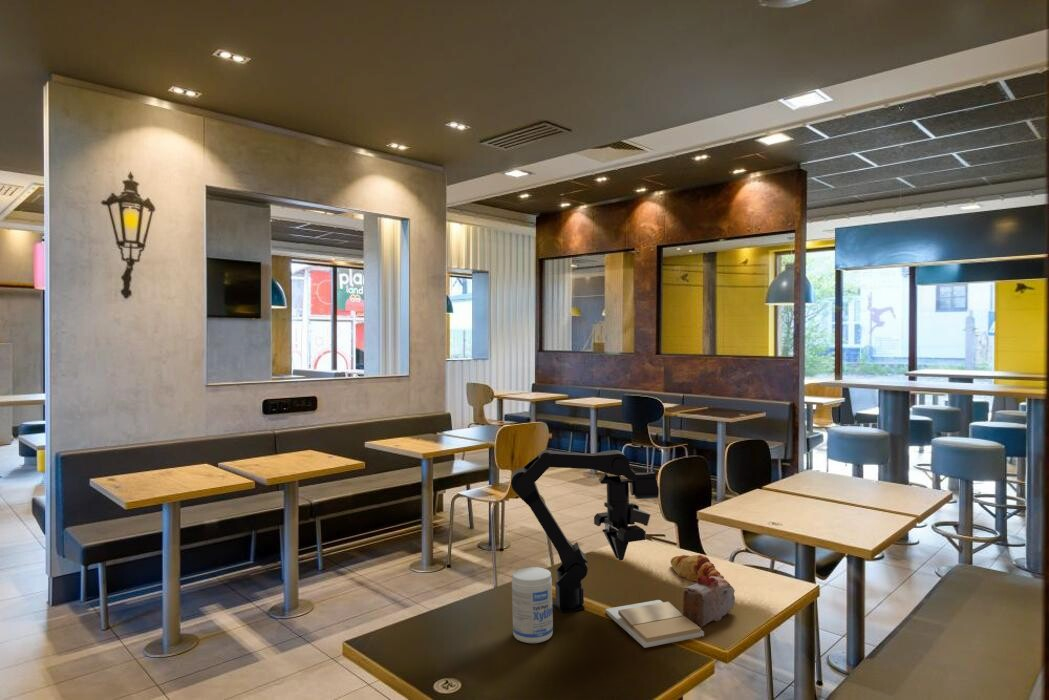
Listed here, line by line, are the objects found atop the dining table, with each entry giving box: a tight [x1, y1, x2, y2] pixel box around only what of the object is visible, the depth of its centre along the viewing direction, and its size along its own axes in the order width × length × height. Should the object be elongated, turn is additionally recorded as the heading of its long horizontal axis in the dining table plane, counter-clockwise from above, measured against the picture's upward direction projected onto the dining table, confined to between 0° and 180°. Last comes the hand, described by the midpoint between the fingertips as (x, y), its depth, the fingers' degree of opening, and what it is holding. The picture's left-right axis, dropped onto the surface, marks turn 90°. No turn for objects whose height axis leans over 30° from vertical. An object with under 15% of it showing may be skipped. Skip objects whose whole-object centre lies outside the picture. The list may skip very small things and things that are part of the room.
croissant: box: [670, 554, 725, 583], centre depth 183 cm, size 21×10×8 cm, turn 29°
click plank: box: [618, 601, 684, 629], centre depth 154 cm, size 14×7×1 cm, turn 108°
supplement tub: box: [511, 566, 554, 644], centre depth 149 cm, size 10×10×15 cm
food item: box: [682, 576, 736, 628], centre depth 156 cm, size 14×8×10 cm, turn 132°
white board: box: [605, 599, 705, 649], centre depth 153 cm, size 16×20×2 cm
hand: (619, 559), depth 165 cm, fingers closed
